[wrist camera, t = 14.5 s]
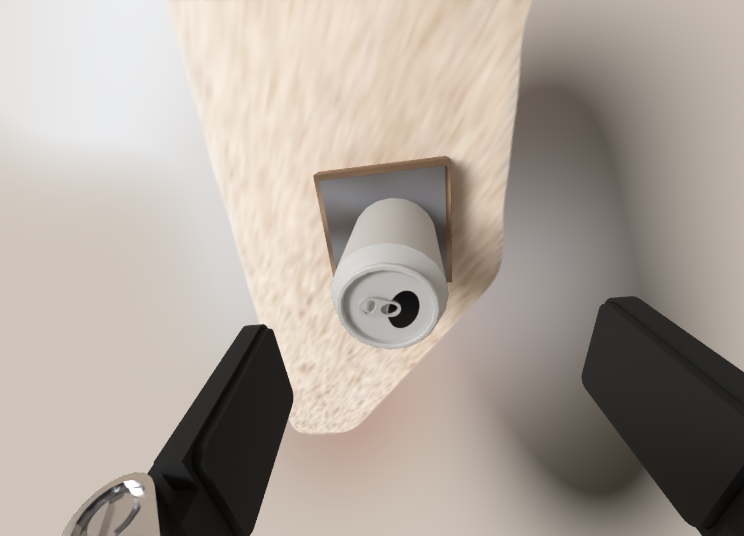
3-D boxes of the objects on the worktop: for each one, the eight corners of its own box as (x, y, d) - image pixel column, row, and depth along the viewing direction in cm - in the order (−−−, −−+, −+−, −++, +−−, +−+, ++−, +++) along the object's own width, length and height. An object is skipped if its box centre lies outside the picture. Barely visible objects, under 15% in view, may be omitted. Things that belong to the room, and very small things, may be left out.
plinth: (319, 171, 30) (312, 176, 27) (443, 155, 29) (450, 158, 26) (340, 279, 35) (336, 294, 32) (446, 269, 34) (452, 283, 31)
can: (421, 277, 30) (429, 370, 20) (348, 260, 30) (317, 344, 20) (446, 206, 26) (471, 274, 16) (363, 186, 26) (334, 242, 16)
